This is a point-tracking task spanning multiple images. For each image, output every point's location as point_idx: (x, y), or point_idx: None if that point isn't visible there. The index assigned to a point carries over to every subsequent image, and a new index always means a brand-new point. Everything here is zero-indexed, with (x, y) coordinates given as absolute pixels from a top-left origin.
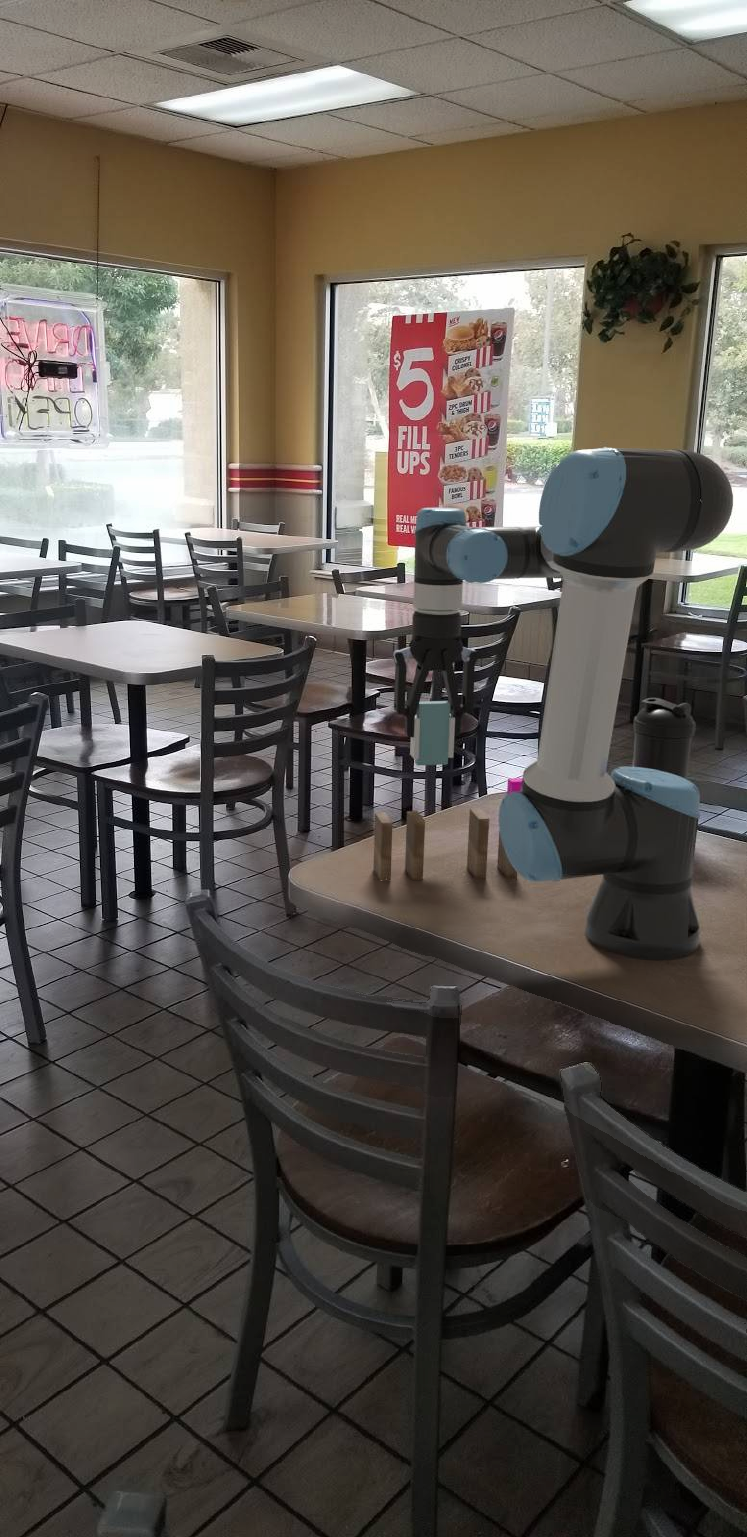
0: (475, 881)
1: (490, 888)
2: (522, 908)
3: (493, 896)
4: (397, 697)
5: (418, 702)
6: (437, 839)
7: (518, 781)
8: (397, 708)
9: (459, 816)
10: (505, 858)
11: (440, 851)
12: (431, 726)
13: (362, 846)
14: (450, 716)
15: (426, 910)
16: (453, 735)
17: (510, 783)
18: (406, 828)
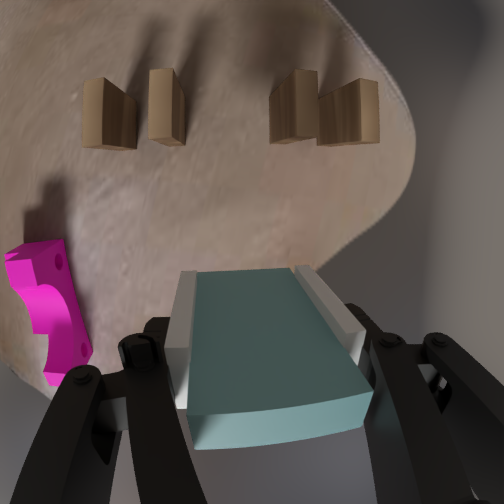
0: (186, 95)
1: None
2: (155, 8)
3: (179, 42)
4: (485, 374)
5: (390, 385)
6: None
7: (60, 373)
8: (456, 343)
9: None
10: (128, 109)
11: (207, 227)
12: (275, 331)
13: (320, 260)
14: (183, 372)
15: (285, 16)
16: (176, 304)
17: None
18: (306, 139)
